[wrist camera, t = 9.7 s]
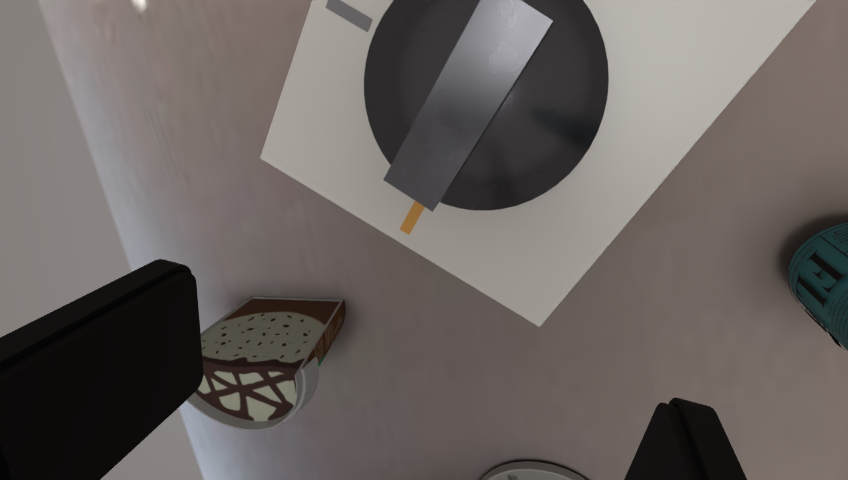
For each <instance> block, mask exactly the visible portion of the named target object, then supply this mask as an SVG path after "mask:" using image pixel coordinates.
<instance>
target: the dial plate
mask: <svg viewBox="0 0 848 480" xmlns="http://www.w3.org/2000/svg"><path fill="white" fill-rule="evenodd" d="M583 1H584V2H585V4H586V5H587V6H588V8H589V9H590V11H591V13H592V15H593V17H594V19H595V21H596V23H597V24H598V26H599V29H600V32H601V35H602V38H603V41H604V44H605V49H606V55H607V60H608V74H609V84H608V96H607V102H606V107H605V111H604V116H603V119H602V121H601V124H600V127H599V130H598V132H597V134H596V136H595V138H594V140H593V142H592V144H591V146H590V148H589V150H588V151H587V152H586V154H585V155H584V157H583V158H582V160H581V161H580V162H579V164H578V165H577V166H576V167H575V168H574V169H573V170H572V172H571V173H570V174H569V175H568V176H567V177H565V178H564V179H563V180H562V181H561V182H560V183H559V184H557V185H556V186H555V187H553V188H552V189H550V190H549V191H547V192H546V193H544V194H542V195H540V196H539V197H537V198H535V199H533V200H531V201H528V202H525V203H523V204H520V205H517V206H513V207H509V208H505V209H498V210H489V211H481V210H467V209H461V208H456V207H453V206H449V205H445V204H443V203H440V202H439V204H438V205H437V206H436V208H435V209H434V211H433V212H432V211H430V210H429V209H427V208H426V207H424V206H423V205H421V204H420V203H418V202H417V201H415V200H413V199H412V198H410V197H409V196H407V195H406V194H404V193H403V192H401V191H399V190H398V189H396V188H395V187H393V186H392V185H390V184H389V183H387V182H386V181H384V180H383V179H384V177H385V175H386V174H387V172H388V170H389V168H390V166H391V165H390V164H389V162H388V161H387V159H386V158H385V156H384V155H383V153H382V152H381V150H380V148H379V146H378V144H377V142H376V140H375V138H374V135H373V133H372V130H371V127H370V124H369V121H368V116H367V112H366V107H365V98H364V73H365V64H366V59H367V55H368V50H369V46H370V43H371V41H372V38H373V35H374V33H375V30H376V28H377V26H378V24H379V22H380V20H381V18H382V16H383V15H384V13H385V12H386V10H387V9H388V7H389V6H390V5H391V3H392V2H393V0H312V3H311V6H310V9H309V12H308V15H307V18H306V21H305V24H304V27H303V30H302V33H301V36H300V39H299V42H298V45H297V48H296V51H295V54H294V57H293V60H292V63H291V66H290V69H289V72H288V75H287V78H286V81H285V84H284V87H283V90H282V93H281V96H280V99H279V102H278V105H277V108H276V111H275V114H274V117H273V120H272V123H271V127H270V130H269V133H268V136H267V139H266V142H265V145H264V148H263V151H262V154H261V157H260V159H262V160H264V161H265V162H267V163H269V164H270V165H272V166H274V167H275V168H277V169H279V170H280V171H282V172H284V173H285V174H287V175H289V176H290V177H292V178H294V179H295V180H297V181H299V182H300V183H302V184H304V185H305V186H307V187H309V188H310V189H312V190H313V191H315V192H317V193H318V194H320V195H322V196H323V197H325V198H327V199H328V200H330V201H332V202H333V203H335V204H337V205H338V206H340V207H342V208H343V209H345V210H347V211H348V212H350V213H352V214H353V215H355V216H357V217H358V218H360V219H362V220H363V221H365V222H366V223H368V224H370V225H371V226H373V227H375V228H376V229H378V230H380V231H381V232H383V233H385V234H386V235H388V236H390V237H391V238H393V239H395V240H396V241H398V242H400V243H401V244H403V245H405V246H406V247H408V248H410V249H411V250H413V251H415V252H416V253H418V254H419V255H421V256H423V257H424V258H426V259H428V260H429V261H431V262H433V263H434V264H436V265H438V266H439V267H441V268H443V269H444V270H446V271H448V272H449V273H451V274H453V275H454V276H456V277H458V278H459V279H461V280H463V281H464V282H466V283H468V284H469V285H471V286H472V287H474V288H476V289H477V290H479V291H481V292H482V293H484V294H486V295H487V296H489V297H491V298H492V299H494V300H496V301H497V302H499V303H501V304H502V305H504V306H506V307H507V308H509V309H511V310H512V311H514V312H516V313H517V314H519V315H521V316H522V317H524V318H525V319H527V320H529V321H530V322H532V323H534V324H535V325H537V326H539V327H540V326H541V325H542V324H543V322H544V321H545V320H546V319H547V318H548V316H549V315H550V314H551V313H552V312H553V311H554V309H555V308H556V307H557V306H558V305H559V303H560V302H561V301H562V300H563V299H564V298H565V296H566V295H567V294H568V293H569V292H570V290H571V289H572V288H573V287H574V286H575V285H576V283H577V282H578V281H579V280H580V279H581V277H582V276H583V275H584V274H585V273H586V272H587V270H588V269H589V268H590V267H591V266H592V264H593V263H594V262H595V261H596V260H597V259H598V257H599V256H600V255H601V254H602V253H603V251H604V250H605V249H606V248H607V247H608V246H609V244H610V243H611V242H612V241H613V240H614V238H615V237H616V236H617V235H618V234H619V233H620V231H621V230H622V229H623V228H624V227H625V225H626V224H627V223H628V222H629V221H630V220H631V218H632V217H633V216H634V215H635V214H636V212H637V211H638V210H639V209H640V208H641V207H642V205H643V204H644V203H645V202H646V201H647V199H648V198H649V197H650V196H651V195H652V194H653V192H654V191H655V190H656V189H657V188H658V186H659V185H660V184H661V183H662V182H663V181H664V179H665V178H666V177H667V176H668V175H669V173H670V172H671V171H672V170H673V169H674V168H675V166H676V165H677V164H678V163H679V162H680V160H681V159H682V158H683V157H684V156H685V155H686V153H687V152H688V151H689V150H690V149H691V147H692V146H693V145H694V144H695V143H696V142H697V140H698V139H699V138H700V137H701V136H702V134H703V133H704V132H705V131H706V130H707V129H708V127H709V126H710V125H711V124H712V123H713V121H714V120H715V119H716V118H717V117H718V116H719V114H720V113H721V112H722V111H723V110H724V108H725V107H726V106H727V105H728V104H729V103H730V101H731V100H732V99H733V98H734V97H735V95H736V94H737V93H738V92H739V91H740V90H741V88H742V87H743V86H744V85H745V84H746V82H747V81H748V80H749V79H750V78H751V77H752V75H753V74H754V73H755V72H756V71H757V69H758V68H759V67H760V66H761V65H762V64H763V62H764V61H765V60H766V59H767V58H768V56H769V55H770V54H771V53H772V52H773V51H774V49H775V48H776V47H777V46H778V45H779V43H780V42H781V41H782V40H783V39H784V38H785V36H786V35H787V34H788V33H789V32H790V30H791V29H792V28H793V27H794V26H795V25H796V23H797V22H798V21H799V20H800V19H801V17H802V16H803V15H804V14H805V13H806V12H807V10H808V9H809V8H810V7H811V6H812V4H813V3H814V2H815V1H816V0H583Z"/></svg>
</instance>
